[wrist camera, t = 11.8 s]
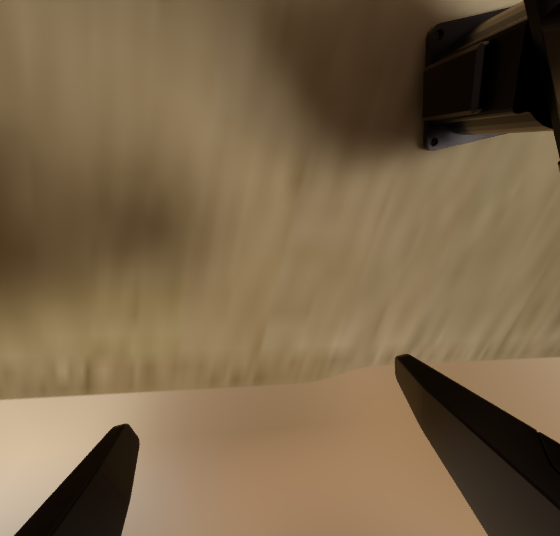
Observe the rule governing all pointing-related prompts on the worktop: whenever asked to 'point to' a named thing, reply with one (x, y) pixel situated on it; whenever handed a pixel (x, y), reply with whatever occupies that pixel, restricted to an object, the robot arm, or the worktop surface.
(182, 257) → the worktop surface
